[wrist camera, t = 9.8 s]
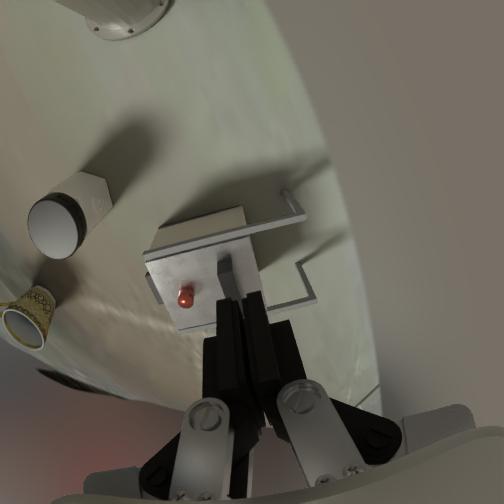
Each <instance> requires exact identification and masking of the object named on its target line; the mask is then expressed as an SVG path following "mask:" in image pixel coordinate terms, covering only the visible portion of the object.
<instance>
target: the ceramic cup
mask: <svg viewBox="0 0 504 504" xmlns="http://www.w3.org/2000/svg"><path fill="white" fill-rule="evenodd" d="M55 303H56V301H55V299H54V297H53V296H52V295H51V293H50V292H49V290H47V289H45V288H43V287H41V286H39V285H37V286H35V287H33V288H31V289H29V290H28V291H27V292H26V293H25V294H24V295H23V296H21V297H20V298H19V299H18V300H17V301H15V302H9V303H0V306H8V305H10V306H9V307H8V308H7V309H6V310H5V311H4V312H1V311H0V317H2V320H3V324H4V326H5V329H6V330H7V332H8V333H9V335H10V336H11V337H12V338H13V339H14V340H15V341H16V342H17V343H19V344H20V345H22V346H23V347H25V348H27V349H30V350H40V349H42V348H43V346H44V344H45V341H46V338H47V334H48V330H49V326H50V323H51V320H52V317H53V314H54V311H55Z"/></svg>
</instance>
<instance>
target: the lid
mask: <svg viewBox="0 0 504 504" xmlns="http://www.w3.org/2000/svg"><path fill="white" fill-rule="evenodd" d="M145 264H146V266H147V268H148V271H149V273H150V275H151V277H152V279H153V281H154V283H155V286H156V288H157V290H158V292H159V294H160V296H161V298H162V300H163V302H164V304H165V306H166V308H167V310H168V312H169V314H170V316H171V318H172V320H173V322H174V324H175V326H176V328H177V329H184V328H189V327H194V326H199V325H204V324H208V323H213V322H216V301H217V300H221V299H225V298H229V297H231V298H232V301H234V300H238V303H239V306H240V309H241V312H242V315H243V308H242V298H247V296H246V293H251V292H255V291H259V290H261V293H262V297H263V301H264V305H265V309H266V310H267V306H266V302H265V298H264V295H263V291H262V287H261V283H260V279H259V275H258V271H257V267H256V263H255V259H254V255H253V251H252V247H251V243H250V239H249V235H248V234H247V235H243V236H239V237H235V238H231V239H227V240H223V241H219V242H215V243H211V244H207V245H203V246H199V247H195V248H192V249H188V250H184V251H180V252H176V253H172V254H168V255H164V256H161V257H157V258H153V259H149V260H146V262H145ZM243 317H244V316H243Z"/></svg>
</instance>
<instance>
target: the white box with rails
mask: <svg viewBox="0 0 504 504" xmlns="http://www.w3.org/2000/svg"><path fill="white" fill-rule="evenodd" d="M282 192H283V196H284V197H285V199H286V201H287V202H288V204H289V205H290V207H291V208H292V210H293V211H294V214H290V215H285V216H281V217H277V218H273V219H269V220H264V221H260V222H256V223H252V224H248V225H247V223H246V219H245V215H244V211H243V207H242V205H241V206H237V207H233V208H229V209H225V210H221V211H217V212H214V213H210V214H206V215H202V216H198V217H195V218H191V219H187V220H184V221H180V222H176V223H173V224H169V225H166V226H162V227H159V228H158V231H157V233H156V235H155V237H154V240H153V242H152V244H151V247H150V249H149V250H148V251H144V252H143V254H142V256H143V258H144V261H145V260H149V259H153V258H157V257H161V256H164V255H168V254H172V253H176V252H180V251H184V250H188V249H192V248H195V247H199V246H203V245H207V244H211V243H215V242H219V241H223V240H227V239H231V238H235V237H239V236H243V235H247V234H248V235H249V234H251V233H256V232H260V231H264V230H268V229H272V228H276V227H280V226H284V225H289V224H293V223H297V222H301V221H305V220H307V218H306V213H305V212H304V211H303V209H302V208H301V207H300V205H299V204H298V203H297V201H296V200H295V199H294V197H293V196H292V195H291V193H290V192H289V191H288V189H286V190H282ZM249 239H250V235H249ZM250 243H251V239H250ZM251 247H252V243H251ZM252 251H253V247H252ZM253 255H254V251H253ZM254 259H255V255H254ZM255 263H256V259H255ZM295 265H296V269H297V271H298V273H299V275H300V278H301V280H302V282H303V285H304V287H305V289H306V292H307V294H308V296H309V297H305V298H301V299H298V300H294V301H290V302H286V303H282V304H278V305H274V306H270V307H267V310H266V313H267V316H269V315H273V314H277V313H281V312H285V311H289V310H293V309H297V308H301V307H304V306H308V305H312V304H316V303H317V298H316V296H315V294H314V291H313V289H312V287H311V285H310V283H309V281H308V278H307V276H306V274H305V272H304V270H303V268H302V266H301V263H300V262H298V263H295ZM256 267H257V263H256ZM257 271H258V267H257ZM258 275H259V271H258ZM145 277H146V280H147V282H148V284H149V286H150V288H151V290H152V292H153V294H154V296H155V298H156V300H157V302H158V304H164V302H163V300H162V298H161V296H160V294H159V292H158V290H157V288H156V286H155V283H154V281H153V279H152V277H151V275H150V273H149V272H147V273H146V276H145ZM259 279H260V275H259ZM260 283H261V279H260ZM261 287H262V284H261ZM262 291H263V288H262ZM263 295H264V293H263ZM264 298H265V297H264ZM265 302H266V301H265ZM243 318H244V317H243ZM211 328H216V322H213V323H208V324H204V325H199V326H194V327H189V328H184V329H179V332H180V334H185V333H191V332H196V331H201V330H206V329H211Z"/></svg>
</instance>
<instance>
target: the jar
mask: <svg viewBox="0 0 504 504" xmlns="http://www.w3.org/2000/svg"><path fill="white" fill-rule="evenodd" d="M112 207H113V205H112V202H111V198H110V194H109V191H108V187H107V183H106V180H105V179H104V178H101V177H98V176H95V175H91V174H88V173H85V172H82V171H80V172H78V173H76V174H75V175H73V176H71V177H70V178H68V179H66V180H65V181H63V182H61V183H60V184H58V185H57V186H55V187H53V188H52V189H50V191H49V192H48V194H47V195H46V196H45V197H43V198H42V199H40V200H39V201H37V202H36V203H35V204H34V205H33V207H32V208H31V210H30V212H29V216H28V230H29V234H30V237H31V239H32V241H33V243H34V245H35V246H36V247H37V248H38V250H39V251H40V252H42V253H43V254H44V255H46V256H47V257H50V258H52V259H57V260H62V259H66V258H68V257H70V256H72V255H73V254H74V253H75V251H76V250H77V249H78V248H79V247H80V246H81V245H82V243H83V241H84V239H85V238H86V237H87V236H88V235H89V233H90V232H91V231H92V230H93V229H94V228H95V226H96V225H97V224H98V223H99V222H100V221H101V220H102V219H103V217H104V216H105V215H106V214H107V213H108V212H109V211H110V210H111V209H112Z"/></svg>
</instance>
